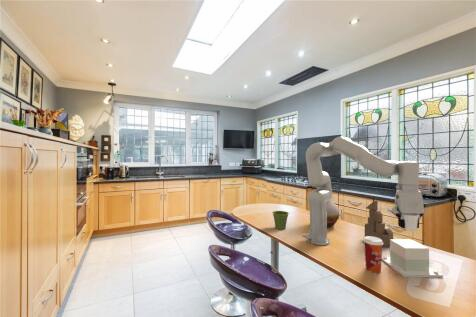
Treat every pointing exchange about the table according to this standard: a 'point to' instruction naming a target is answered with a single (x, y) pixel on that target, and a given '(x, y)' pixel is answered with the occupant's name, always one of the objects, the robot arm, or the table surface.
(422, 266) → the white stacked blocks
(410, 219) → the white cylinder
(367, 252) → the paper cup
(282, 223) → the plant pot
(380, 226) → the wooden toy
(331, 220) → the jug
